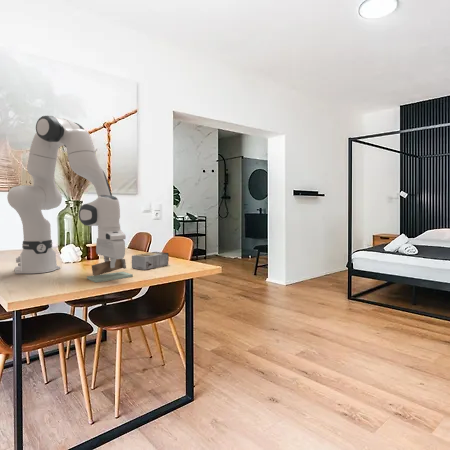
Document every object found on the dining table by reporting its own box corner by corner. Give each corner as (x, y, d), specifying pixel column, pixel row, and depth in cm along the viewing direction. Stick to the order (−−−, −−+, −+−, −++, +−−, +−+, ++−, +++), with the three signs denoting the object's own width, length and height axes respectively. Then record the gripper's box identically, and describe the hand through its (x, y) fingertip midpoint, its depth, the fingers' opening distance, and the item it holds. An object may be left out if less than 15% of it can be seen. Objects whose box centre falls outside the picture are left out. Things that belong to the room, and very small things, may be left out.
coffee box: (131, 255, 170) (155, 251, 184) (131, 268, 171) (155, 263, 184) (145, 256, 165) (168, 252, 179) (145, 270, 166) (168, 265, 179)
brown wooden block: (97, 276, 142) (96, 266, 141) (90, 274, 146) (89, 264, 146) (126, 268, 151) (125, 259, 150) (119, 266, 155) (117, 257, 155)
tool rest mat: (86, 278, 147) (86, 276, 147) (123, 273, 158) (123, 271, 158) (95, 282, 141) (95, 279, 140) (132, 276, 151) (132, 274, 151)
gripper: (91, 233, 154) (92, 265, 155) (112, 236, 139) (113, 271, 139) (106, 232, 158) (106, 263, 159) (127, 235, 143) (128, 269, 144)
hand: (110, 267), depth 149 cm, fingers closed on brown wooden block, 2 cm apart
